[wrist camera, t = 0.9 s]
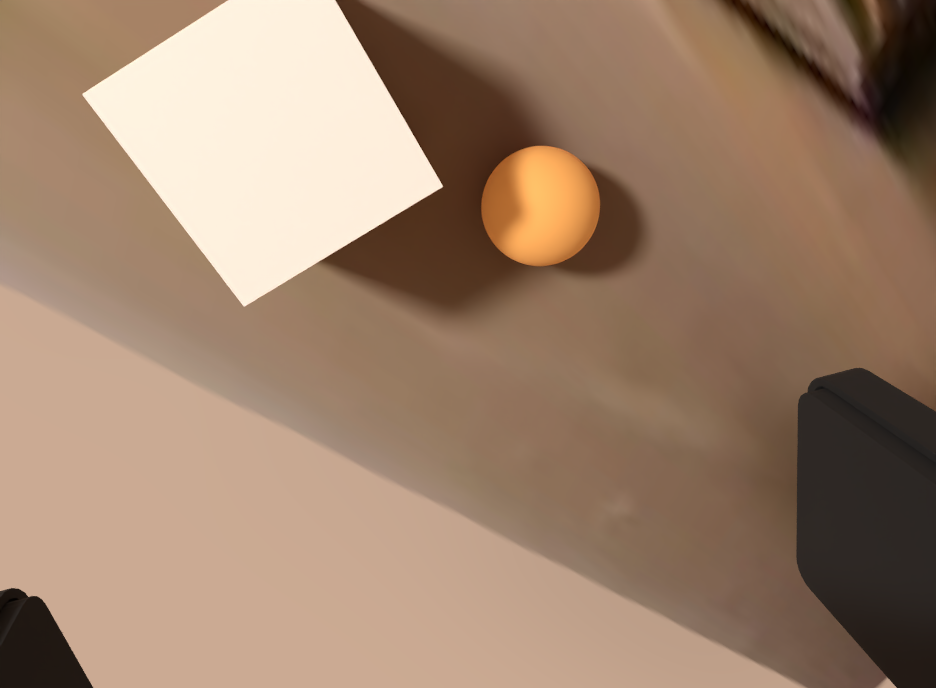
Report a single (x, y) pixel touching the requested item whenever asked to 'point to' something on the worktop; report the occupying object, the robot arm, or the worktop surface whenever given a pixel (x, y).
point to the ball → (540, 205)
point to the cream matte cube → (266, 137)
